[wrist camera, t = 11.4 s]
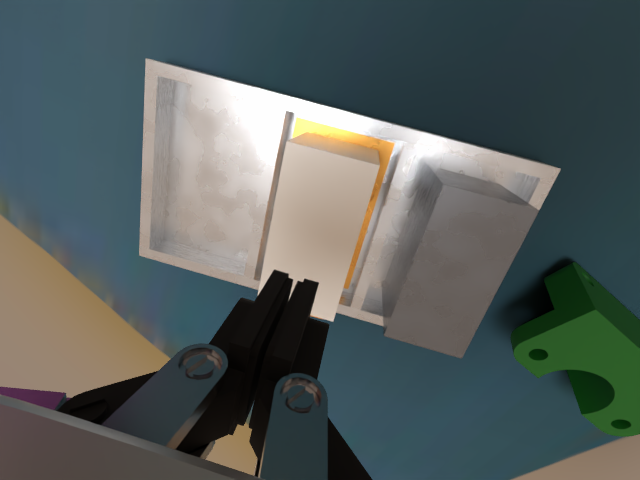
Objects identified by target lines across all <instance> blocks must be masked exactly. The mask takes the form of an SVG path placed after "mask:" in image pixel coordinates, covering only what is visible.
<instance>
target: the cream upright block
mask: <svg viewBox="0 0 640 480" xmlns="http://www.w3.org/2000/svg"><path fill="white" fill-rule="evenodd" d="M379 167H380V162H379V152H378V150H375V149H372V148H368V147H364V146H360V145H356V144H352V143H348V142H344V141H340V140H337V139H333V138H329V137H325V136H321V135H317V134H313V133H309V132H305V133H303V134H301V135H299V136H296V137H294V138H292V139H290V140H288V141H286V145H285V150H284V156H283V161H282V167H281V172H280V177H279V183H278V188H277V193H276V199H275V204H274V210H273V215H272V220H271V226H270V231H269V237H268V242H267V247H266V253H265V258H264V264H263V269H262V274H261V280H260V285H259V291H258V295H259V293H260V292H261V290H262V288H263V287H264V285H265V283H266V282H267V280H268V278H269V277H270V275H271V274H272V272H273V270H278V271H281V272H285V273H288V274H289V278H291V279H293V284H292V288H291V293H290V296H291V294H292V292H293V290H294V288H295V285H296V283H297V281H301V282H303V281H304V279H308V280H312V281H315V282H319V285H318V289H317V292H316V296H315V300H314V303H313V307H312V310H311V314H310V315H311V316H315V317H318V318H322V319H325V320H329V321H334V317H335V314H336V311H337V307H338V304H339V300H340V297H341V294H342V290H343V287H344V284H345V280H346V277H347V274H348V270H349V267H350V264H351V260H352V257H353V254H354V250H355V247H356V244H357V240H358V237H359V234H360V230H361V227H362V224H363V220H364V217H365V214H366V210H367V207H368V204H369V200H370V197H371V194H372V190H373V187H374V184H375V180H376V177H377V174H378V170H379ZM289 299H290V297H289Z"/></svg>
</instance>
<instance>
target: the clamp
mask: <svg viewBox="0 0 640 480" xmlns="http://www.w3.org/2000/svg"><path fill="white" fill-rule="evenodd" d="M544 282H545V285H546V287H547V290H548V293H549V295H550V298H551V301H552V304H553V306H554V310H552V311H550V312H548V313H546V314H544V315H542V316H540V317H538V318H535V319H533V320H531V321H529V322H527V323H525V324H523V325H521V326H519V327H517V328H516V329H515V330H514V331H513V332H512V334H511V343H512V348H513V353H514V357H515V359H516V360H517V361H518V362H519V363H520V364H522V365H523V366H524V367H525V368H526V369H528V370H529V371H530V372H531V373H532V374H534V375H535V376H536V377H537V378H540V377H541V376H543V375H545V374H547V373H550V372H554V371H558V370H567V373H568V376H569V379H570V382H571V385H572V387H573V390H574V393H575V396H576V399H577V402H578V405H579V408H580V411H581V414H582V415H583V416H584V417H585V418H587V419H588V420H589V421H590V422H591V423H593V424H594V425H595V426H596V427H597V428H599V429H600V430H601V431H603V432H605V433H607V434H610V435H614V436H634V435H638V434H640V320H639V319H638V318H637V317H635V316H634V315H633V314H632V313H631V312H630V311H629V310H628V309H627V308H626V307H625V306H623V305H622V304H621V303H620V302H619V301H618V300H617V299H616V298H615V297H614V296H612V295H611V294H610V293H609V292H608V291H607V290H606V289H605V288H604V287H603V286H602V285H600V284H599V283H598V282H597V281H596V280H595V279H594V278H593V277H592V276H591V275H589V274H588V273H587V272H586V271H585V270H584V269H583V268H582V267H581V266H580V265H578V264H577V263H575V262H573V263H571V264H569V265H567V266H565V267H563V268H562V269H560V270H558V271H556V272H554V273H552V274H551V275H549V276H547V277H545V278H544Z"/></svg>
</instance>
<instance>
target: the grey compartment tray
mask: <svg viewBox="0 0 640 480" xmlns="http://www.w3.org/2000/svg"><path fill="white" fill-rule="evenodd" d="M305 132H309V133H313V134H317V135H321V136H325V137H329V138H333V139H337V140H340V141H344V142H348V143H352V144H356V145H360V146H364V147H368V148H372V149H375V150H378V152H379V162H380V167H379V170H378V174H377V177H376V180H375V184H374V187H373V190H372V194H371V197H370V200H369V204H368V207H367V210H366V214H365V217H364V220H363V224H362V227H361V230H360V234H359V237H358V240H357V244H356V247H355V250H354V254H353V257H352V260H351V264H350V267H349V270H348V274H347V277H346V280H345V284H344V287H343V290H342V294H341V297H340V300H339V304H338V307H337V311H336V313H340V314H343V315H347V316H350V317H353V318H357V319H360V320H364V321H367V322H371V323H374V324H378V325H381V326H383V329H384V336H386V337H389V338H393V339H396V340H400V341H403V342H407V343H410V344H414V345H417V346H420V347H424V348H427V349H431V350H434V351H438V352H441V353H445V354H448V355H451V356H455V357H458V358H462V357H463V355H464V353H465V351H466V349H467V347H468V345H469V343H470V342H471V340H472V338H473V336H474V334H475V332H476V330H477V328H478V326H479V324H480V322H481V321H482V319H483V317H484V315H485V313H486V311H487V309H488V307H489V305H490V303H491V301H492V300H493V298H494V296H495V294H496V292H497V290H498V288H499V286H500V284H501V282H502V281H503V279H504V277H505V275H506V273H507V271H508V269H509V267H510V265H511V263H512V261H513V260H514V258H515V256H516V254H517V252H518V250H519V248H520V246H521V244H522V242H523V240H524V239H525V237H526V235H527V233H528V231H529V229H530V227H531V225H532V223H533V221H534V220H535V218H536V216H537V214H538V212H539V210H540V208H541V206H542V204H543V202H544V200H545V198H546V196H547V195H548V193H549V191H550V189H551V187H552V185H553V183H554V181H555V179H556V177H557V175H558V174H559V172H560V170H561V169H560V168H557V167H554V166H552V165H549V164H546V163H543V162H540V161H536V160H533V159H529V158H525V157H521V156H517V155H514V154H510V153H506V152H502V151H499V150H495V149H491V148H487V147H484V146H480V145H476V144H472V143H469V142H465V141H461V140H457V139H454V138H450V137H446V136H442V135H439V134H435V133H431V132H427V131H423V130H420V129H416V128H412V127H408V126H405V125H401V124H397V123H393V122H390V121H386V120H382V119H378V118H375V117H371V116H367V115H363V114H360V113H356V112H352V111H348V110H344V109H341V108H337V107H333V106H329V105H326V104H322V103H318V102H314V101H311V100H307V99H303V98H299V97H296V96H292V95H288V94H284V93H281V92H277V91H273V90H269V89H265V88H262V87H258V86H254V85H250V84H247V83H243V82H239V81H235V80H232V79H228V78H224V77H220V76H217V75H213V74H209V73H205V72H202V71H198V70H194V69H190V68H186V67H183V66H179V65H175V64H171V63H168V62H162V61H157V60H152V59H146V68H145V98H144V128H143V157H142V187H141V217H140V247H139V255H140V256H143V257H146V258H150V259H153V260H157V261H160V262H164V263H167V264H171V265H174V266H177V267H181V268H184V269H188V270H191V271H195V272H198V273H202V274H205V275H209V276H212V277H215V278H219V279H222V280H226V281H229V282H233V283H236V284H240V285H243V286H247V287H250V288H253V289H257V290H259V285H260V280H261V274H262V269H263V264H264V258H265V253H266V247H267V242H268V237H269V231H270V226H271V220H272V215H273V210H274V204H275V199H276V193H277V188H278V183H279V177H280V172H281V167H282V161H283V156H284V150H285V145H286V141H288V140H290V139H292V138H294V137H296V136H299V135H301V134H303V133H305ZM310 316H311V315H310ZM312 317H315V316H312ZM316 318H318V317H316ZM319 319H322V318H319Z"/></svg>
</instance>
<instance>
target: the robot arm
mask: <svg viewBox="0 0 640 480" xmlns="http://www.w3.org/2000/svg"><path fill="white" fill-rule="evenodd" d="M292 284H293V279H291V278H289V274H288V273H285V272H281V271H278V270H273V272H272V274H271V275H270V277H269V278H268V280H267V282H266V283H265V285H264V287H263V288H262V290H261V292H260V293H259V295H258V296H257V298H256V300H255V301H251V300H248V299H245V298H240V300H239V301H238V302H237V304H236V305H235V307H234V308H233V310H232V311H231V312H230V314H229V315H228V317H227V318H226V320H225V321H224V323H223V324H222V326H221V327H220V328H219V330H218V331H217V333H216V334H215V336H214V337H213V339H212V340H211V341H210V343H209V344H194V345H190V346H188V347H185V348H183V349H182V350H181V351H179V352H178V353H177V354H176V355H175V356H174V357H173V358H172V359H170V360H169V361H168V363H166V364H165V365H164V366H163V367H162V368H161V369H160V370H159V371H156V372H153V373H149V374H146V375H142V376H139V377H135V378H132V379H128V380H125V381H121V382H118V383H114V384H111V385H107V386H104V387H100V388H97V389H93V390H90V391H86V392H84V393H81V394H78V395H76V396H74V397H73V398H66V393H61V392H51V391H40V390H29V389H19V388H8V387H0V480H372V479H371V477H370V476H369V474H368V473H367V472H366V470H365V469H364V467H363V466H362V464H361V463H360V462H359V460H358V459H357V457H356V456H355V455H354V453H353V452H352V450H351V449H350V447H349V446H348V445H347V443H346V442H345V440H344V439H343V438H342V436H341V435H340V433H339V432H338V430H337V429H336V428H335V426H334V425H333V423H332V422H331V421H330V419H329V418H328V399H327V393H326V391H325V389H324V387H323V385H322V384H321V383H320V382H319V381H318V380H317V377H318V373H319V368H320V364H321V360H322V355H323V351H324V346H325V342H326V338H327V333H328V329H329V324H327V323H324V322H321V321H318V320H314V319H311V318H310V314H311V310H312V307H313V303H314V300H315V296H316V292H317V289H318V285H319V282H315V281H312V280H308V279H304V281H303V282H301V281H297V283H296V285H295V288H294V290H293V292H292V294H291V296H290V293H291V288H292ZM289 297H290V299H289ZM254 400H255V401H254ZM253 403H254V405H253ZM252 405H253V410H252V414H251V419H250V423H249V428H251V429H252V432H251V437H250V444H251V446H252V448H253V450H254V452H255V454H256V456H257V461H256V466H255V471H254V476H253V475H249V474H247V473H244V472H241V471H238V470H235V469H232V468H229V467H226V466H223V465H219V464H216V463H214V462H211V461H208V460H205V459H206V458H207V456H208V455H209V453H210V452H211V450H212V448H213V446H214V444H215V440H217V439H219V438H221V437H224V436H226V435H228V434H230V435H233V433H234V431H235V429H236V426H237V424H239V425H242V426H244V424H245V422H246V419H247V417H248V415H249V412H250V410H251V407H252Z"/></svg>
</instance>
